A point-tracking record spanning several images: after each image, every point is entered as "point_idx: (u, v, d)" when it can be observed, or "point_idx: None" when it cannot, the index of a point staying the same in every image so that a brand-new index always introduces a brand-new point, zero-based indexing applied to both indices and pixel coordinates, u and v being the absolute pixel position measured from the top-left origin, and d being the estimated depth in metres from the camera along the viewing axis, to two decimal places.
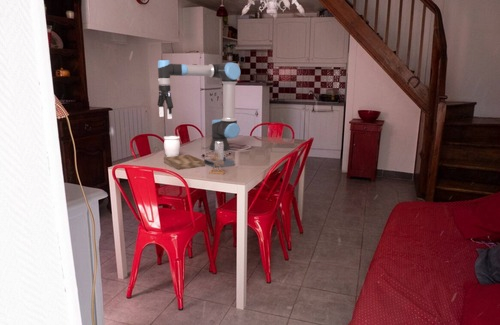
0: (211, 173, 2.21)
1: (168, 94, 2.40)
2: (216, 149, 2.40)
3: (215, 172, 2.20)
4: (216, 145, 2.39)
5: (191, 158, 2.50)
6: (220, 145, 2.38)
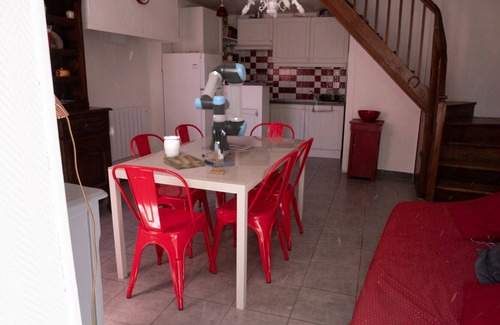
0: (211, 173, 2.21)
1: (223, 134, 2.33)
2: (216, 149, 2.40)
3: (215, 172, 2.20)
4: (216, 145, 2.39)
5: (191, 158, 2.50)
6: None
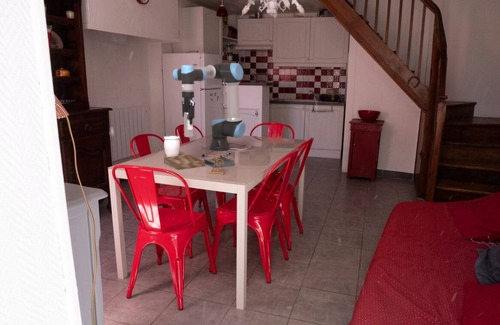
0: (211, 173, 2.21)
1: (192, 104, 2.28)
2: (185, 120, 2.34)
3: (215, 172, 2.20)
4: (185, 116, 2.34)
5: (191, 158, 2.50)
6: None
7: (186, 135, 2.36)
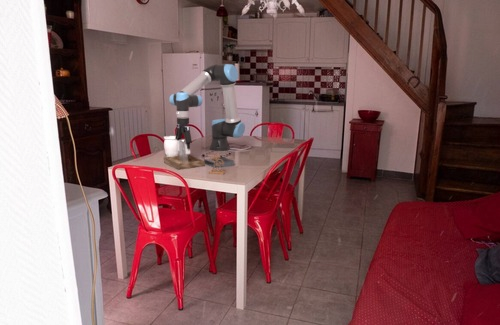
0: (211, 173, 2.21)
1: (187, 128, 2.31)
2: (180, 147, 2.38)
3: (215, 172, 2.20)
4: (180, 143, 2.38)
5: (191, 158, 2.50)
6: (184, 143, 2.37)
7: (181, 162, 2.40)
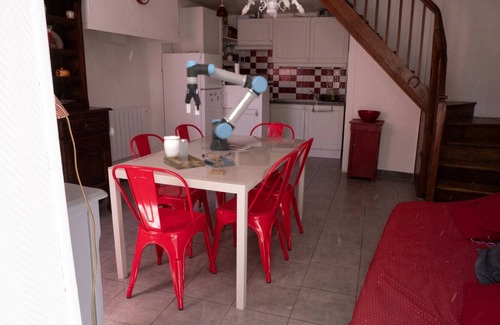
0: (211, 173, 2.21)
1: (196, 92, 2.60)
2: (180, 147, 2.38)
3: (215, 172, 2.20)
4: (180, 143, 2.38)
5: (191, 158, 2.50)
6: (184, 143, 2.37)
7: (181, 162, 2.40)
